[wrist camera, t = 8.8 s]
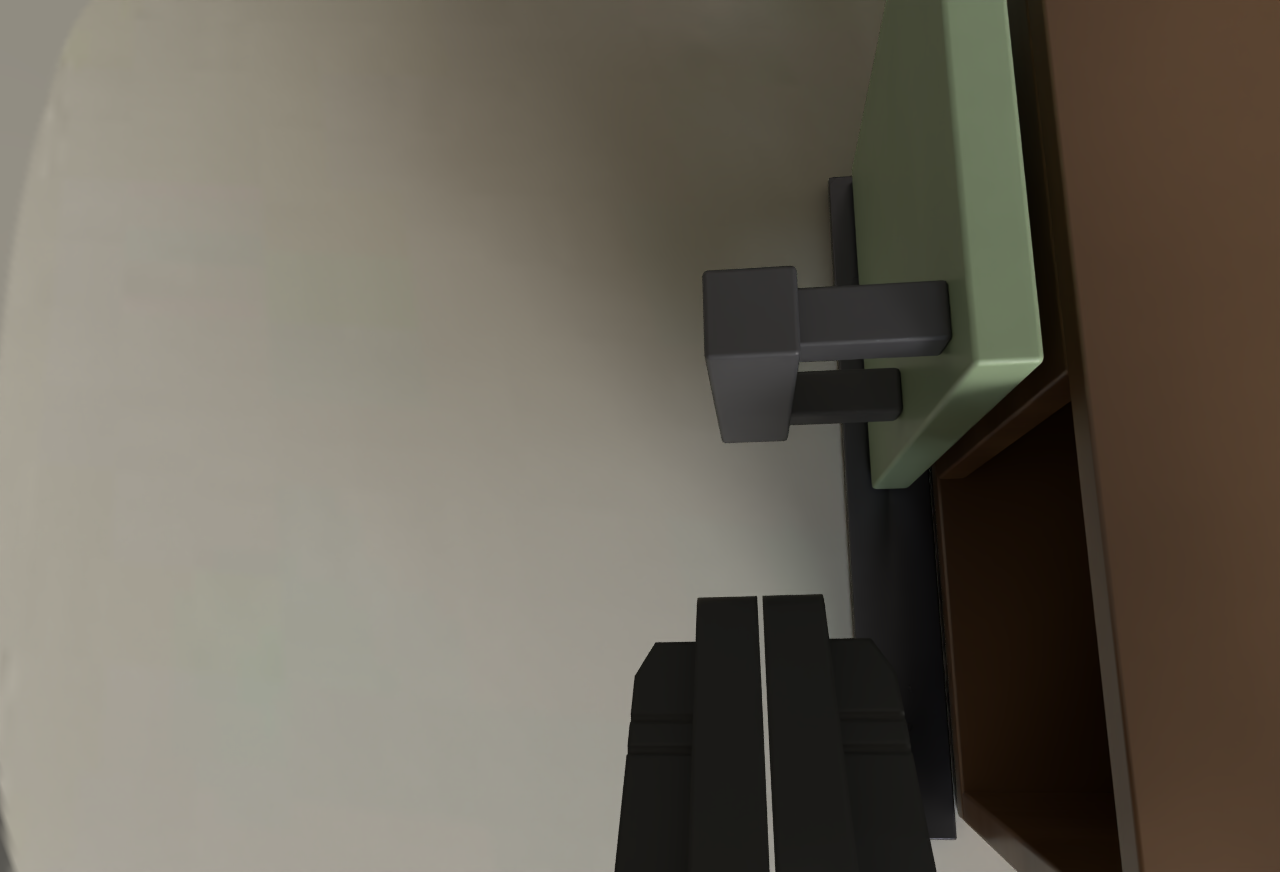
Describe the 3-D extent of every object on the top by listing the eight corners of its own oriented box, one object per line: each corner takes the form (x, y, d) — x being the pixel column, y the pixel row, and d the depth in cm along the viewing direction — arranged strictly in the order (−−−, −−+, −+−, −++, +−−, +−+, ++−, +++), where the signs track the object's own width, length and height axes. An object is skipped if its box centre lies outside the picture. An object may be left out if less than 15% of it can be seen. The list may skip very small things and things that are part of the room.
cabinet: (865, 836, 20) (970, 1042, 10) (827, 183, 23) (879, -153, 13) (1547, 844, 18) (2465, 1099, 8) (1410, 142, 21) (1968, -273, 11)
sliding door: (729, 494, 21) (701, 378, 11) (719, 178, 22) (687, -169, 13) (909, 488, 20) (1045, 362, 11) (886, 166, 22) (987, -204, 12)
